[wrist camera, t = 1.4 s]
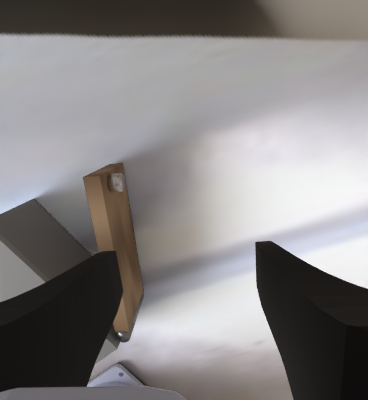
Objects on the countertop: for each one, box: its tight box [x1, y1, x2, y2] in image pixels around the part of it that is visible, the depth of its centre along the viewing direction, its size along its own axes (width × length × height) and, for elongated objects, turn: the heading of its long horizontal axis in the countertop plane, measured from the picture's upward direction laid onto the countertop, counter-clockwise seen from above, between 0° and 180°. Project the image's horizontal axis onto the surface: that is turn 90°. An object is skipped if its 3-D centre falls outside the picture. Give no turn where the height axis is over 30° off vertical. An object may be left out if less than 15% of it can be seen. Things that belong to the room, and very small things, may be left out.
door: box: [83, 163, 144, 342], centre depth 20 cm, size 12×2×5 cm, turn 6°
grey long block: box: [0, 199, 120, 364], centre depth 21 cm, size 12×5×5 cm, turn 41°
